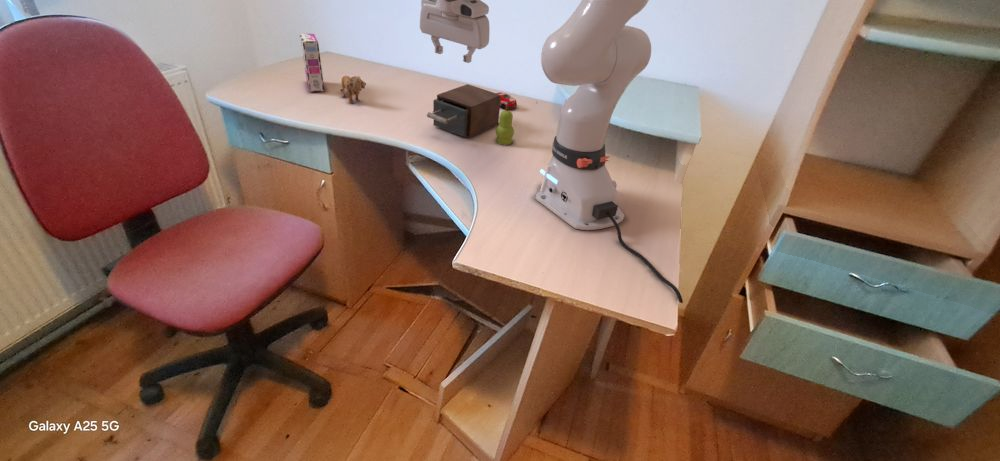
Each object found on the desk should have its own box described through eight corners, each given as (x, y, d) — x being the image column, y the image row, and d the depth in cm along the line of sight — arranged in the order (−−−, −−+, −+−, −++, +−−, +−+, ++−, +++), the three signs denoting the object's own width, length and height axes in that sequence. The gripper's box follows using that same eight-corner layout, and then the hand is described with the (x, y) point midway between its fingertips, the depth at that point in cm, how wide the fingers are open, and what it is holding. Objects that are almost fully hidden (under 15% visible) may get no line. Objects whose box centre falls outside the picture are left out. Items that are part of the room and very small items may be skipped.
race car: (478, 101, 160) (479, 90, 158) (488, 97, 164) (488, 86, 161) (509, 111, 154) (510, 100, 152) (518, 107, 158) (519, 96, 155)
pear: (516, 144, 134) (520, 109, 127) (499, 146, 132) (502, 110, 125) (508, 136, 138) (511, 102, 131) (492, 138, 135) (494, 103, 129)
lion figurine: (369, 104, 149) (367, 76, 144) (355, 107, 146) (352, 79, 141) (347, 90, 157) (344, 64, 152) (333, 93, 154) (329, 66, 149)
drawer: (451, 142, 129) (452, 116, 124) (420, 130, 134) (420, 104, 129) (491, 124, 142) (492, 99, 137) (461, 113, 147) (462, 89, 143)
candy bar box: (325, 92, 155) (318, 41, 145) (310, 93, 153) (301, 41, 143) (321, 81, 163) (314, 32, 153) (306, 82, 161) (298, 33, 151)
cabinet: (470, 138, 134) (471, 106, 129) (436, 125, 140) (436, 94, 134) (498, 124, 145) (500, 94, 139) (466, 112, 150) (467, 84, 145)
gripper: (413, -5, 115) (415, 50, 124) (480, 12, 108) (477, 70, 117) (429, -9, 120) (429, 45, 128) (494, 8, 112) (490, 64, 121)
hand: (452, 57), depth 122 cm, fingers open, 8 cm apart
